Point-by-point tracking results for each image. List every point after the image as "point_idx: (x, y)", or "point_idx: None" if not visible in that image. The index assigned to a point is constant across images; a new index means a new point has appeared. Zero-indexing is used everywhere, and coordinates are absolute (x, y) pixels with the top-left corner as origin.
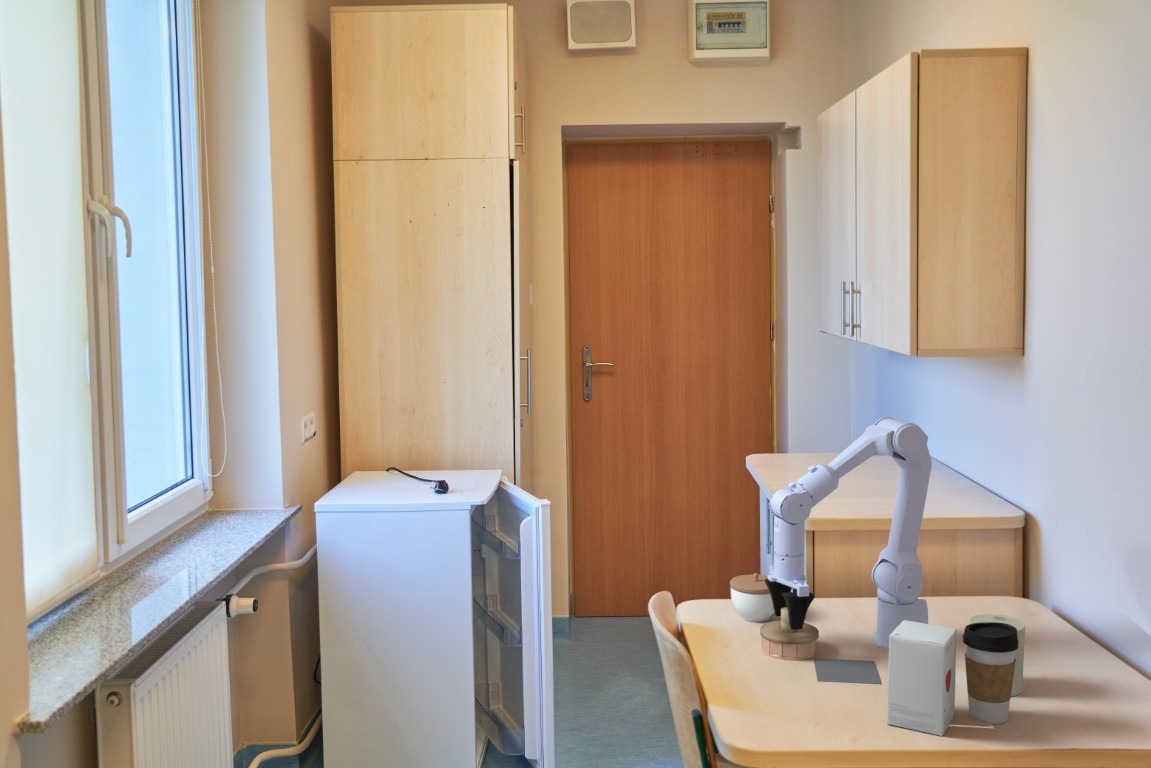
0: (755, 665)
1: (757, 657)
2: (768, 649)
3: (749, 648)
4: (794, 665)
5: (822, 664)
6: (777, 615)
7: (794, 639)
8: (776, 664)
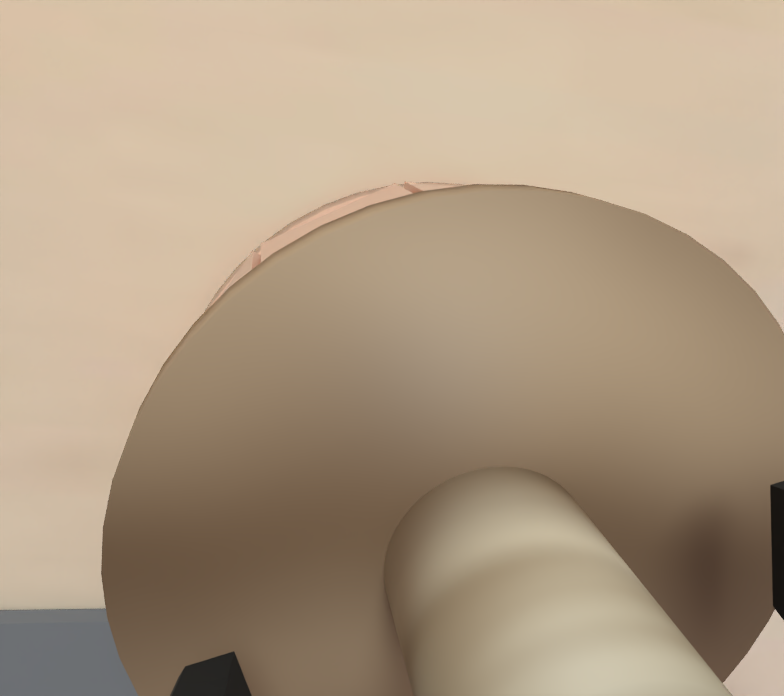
0: (33, 50)
1: (289, 112)
2: (276, 245)
3: (548, 61)
4: (94, 452)
5: (90, 677)
6: (779, 503)
7: (140, 605)
8: (99, 288)
